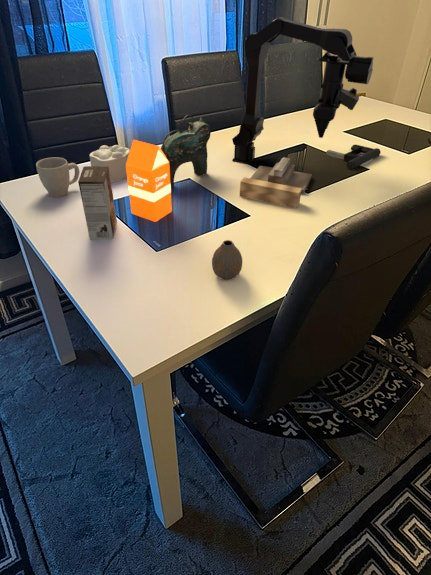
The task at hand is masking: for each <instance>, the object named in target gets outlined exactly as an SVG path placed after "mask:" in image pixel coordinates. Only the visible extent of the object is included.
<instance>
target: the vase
mask: <svg viewBox="0 0 431 575" xmlns="http://www.w3.org/2000/svg"><path fill="white" fill-rule="evenodd" d="M211 267H212V271H213V272H214V274H215V275H216V276H217V277H218V278H219V279H221V280H223V281H229V280H230V281H231V280H233V279H235V278H237V276H239V274H240V272H241V271H242V268H243V256H242V254H241V251H240V249H239V248H238V247H237V246H236V245H235V243H234V242H233V241H232V240H230V239H226V240H224V241H222V243H221V244H220V246H218V247H217V249H216V250H215V251H214V252H213V255H212V259H211Z"/></svg>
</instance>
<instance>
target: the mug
mask: <svg viewBox="0 0 431 575" xmlns="http://www.w3.org/2000/svg"><path fill="white" fill-rule="evenodd" d="M35 168H36V172H37V174H38V175H37V176H38V177H39V180H40V182H41V184H42V186H43V188H44V189H45V190H46V192H48V194H49V196H50V197H52V198H59V197H64V196H66V195H68V193H69V187H70V186H71V185H73V184H74V183H76V182H77V181H79V178H80V174H81V173H80V172H81V170H80V169H79V165H78V164H76V163H75V162H70V163H69V162H68V161H67V159H65V158H64V157H58V156H57V157H56V156H55V157H53V156H52V157H47V158H42V159H39V160H38V161H36V163H35ZM73 169H74V175H73V178H72V179H71V180H70V170H73Z"/></svg>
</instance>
